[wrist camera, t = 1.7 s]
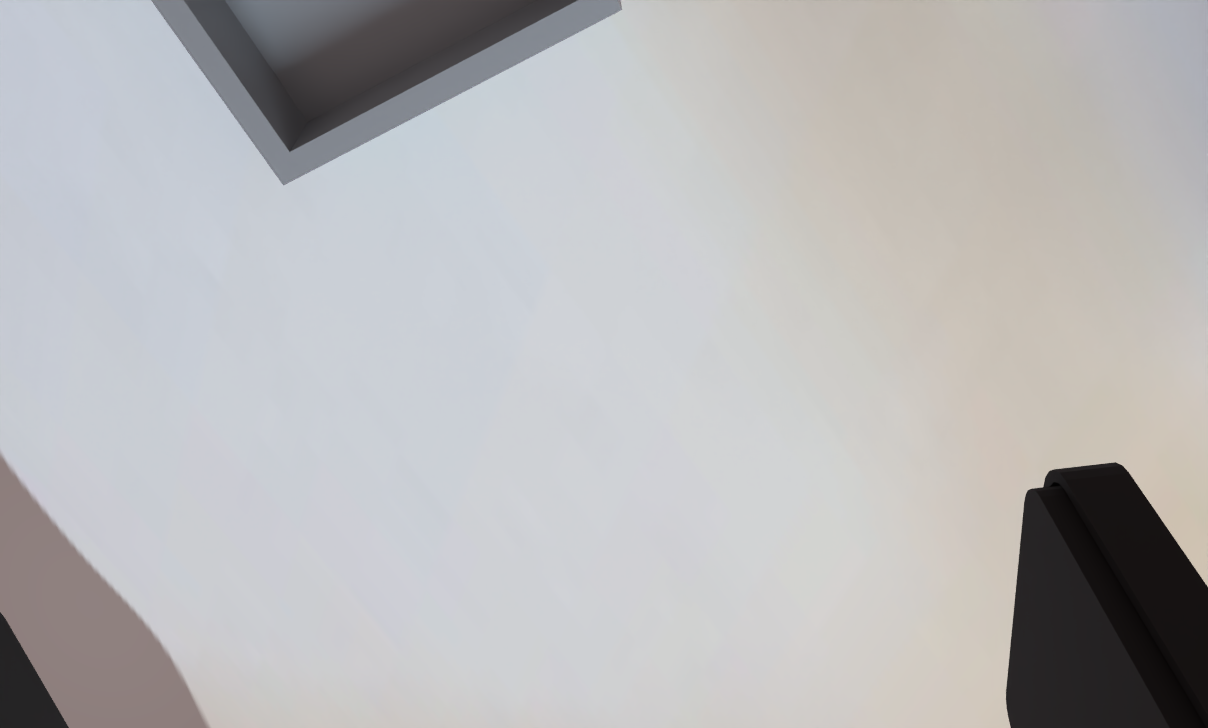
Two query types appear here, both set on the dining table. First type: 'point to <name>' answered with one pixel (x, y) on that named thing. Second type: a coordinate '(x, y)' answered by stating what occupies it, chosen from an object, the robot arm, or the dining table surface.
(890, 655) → the dining table surface
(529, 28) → the tray
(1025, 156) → the dining table surface
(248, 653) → the dining table surface
